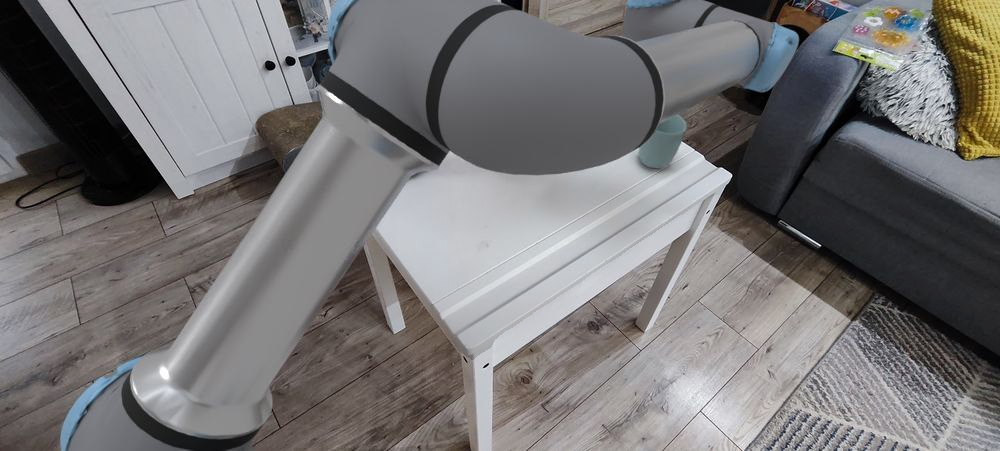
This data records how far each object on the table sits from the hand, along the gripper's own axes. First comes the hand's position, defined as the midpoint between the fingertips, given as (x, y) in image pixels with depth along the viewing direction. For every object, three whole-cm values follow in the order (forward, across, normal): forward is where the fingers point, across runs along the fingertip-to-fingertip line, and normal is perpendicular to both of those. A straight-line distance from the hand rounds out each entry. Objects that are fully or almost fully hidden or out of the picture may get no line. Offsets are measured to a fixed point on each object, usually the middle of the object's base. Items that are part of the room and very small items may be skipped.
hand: (442, 56), depth 75 cm
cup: (-40, +14, -25) cm, 50 cm away
